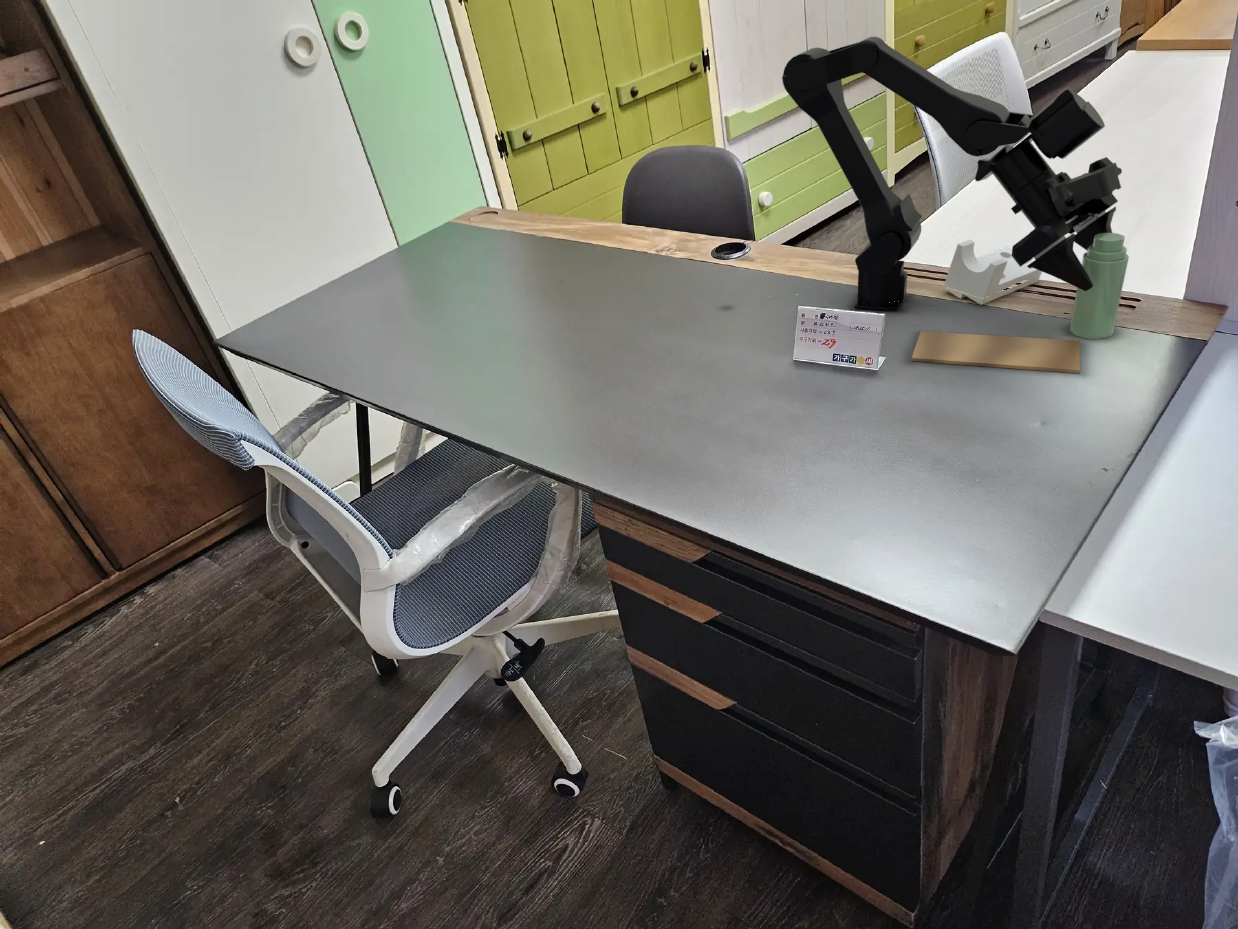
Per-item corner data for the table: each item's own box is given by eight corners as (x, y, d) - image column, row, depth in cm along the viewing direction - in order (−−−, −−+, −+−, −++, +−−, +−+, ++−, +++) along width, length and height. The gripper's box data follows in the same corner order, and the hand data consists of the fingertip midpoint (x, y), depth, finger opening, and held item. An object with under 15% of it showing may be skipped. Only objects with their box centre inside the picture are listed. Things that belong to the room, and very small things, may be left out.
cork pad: (911, 361, 113) (911, 357, 113) (920, 334, 120) (920, 330, 119) (1079, 373, 105) (1080, 369, 105) (1079, 344, 112) (1079, 340, 111)
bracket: (978, 310, 127) (995, 265, 121) (943, 287, 131) (957, 243, 126) (1035, 286, 132) (1054, 243, 126) (999, 265, 136) (1016, 222, 131)
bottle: (1069, 337, 114) (1086, 242, 107) (1069, 322, 117) (1086, 230, 111) (1113, 340, 111) (1134, 243, 105) (1112, 324, 115) (1131, 230, 109)
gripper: (1049, 159, 100) (1132, 263, 99) (1114, 125, 110) (1190, 220, 109) (979, 217, 109) (1053, 314, 108) (1044, 182, 120) (1113, 269, 118)
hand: (1104, 277), depth 110 cm, fingers open, 9 cm apart
